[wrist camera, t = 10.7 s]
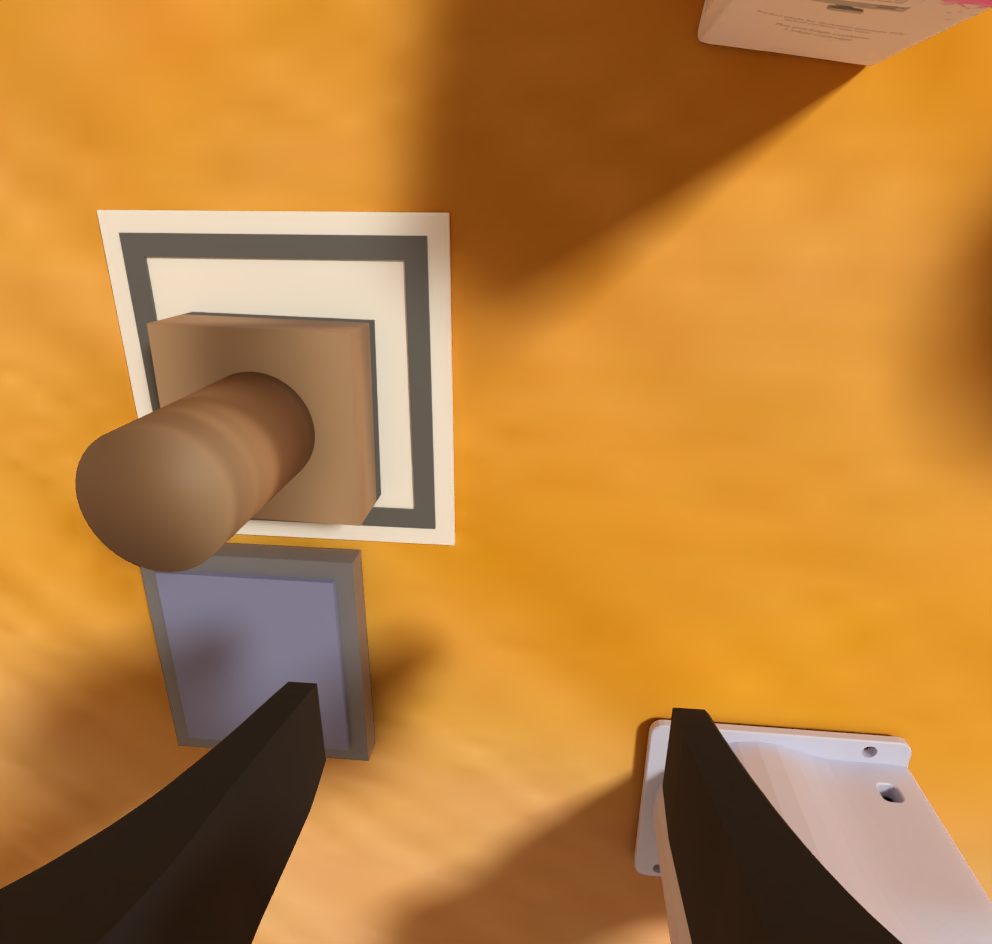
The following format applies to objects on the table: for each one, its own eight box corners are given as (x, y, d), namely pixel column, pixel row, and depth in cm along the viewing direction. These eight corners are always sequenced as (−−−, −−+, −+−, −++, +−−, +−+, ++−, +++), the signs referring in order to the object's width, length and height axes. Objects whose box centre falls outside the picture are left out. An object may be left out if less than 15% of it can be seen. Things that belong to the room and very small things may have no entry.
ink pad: (360, 549, 24) (350, 566, 23) (375, 742, 27) (366, 765, 26) (153, 538, 25) (132, 554, 24) (191, 727, 28) (175, 750, 27)
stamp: (374, 319, 21) (268, 378, 13) (381, 494, 23) (293, 627, 15) (192, 311, 21) (-9, 363, 14) (215, 483, 23) (53, 607, 16)
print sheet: (449, 212, 20) (447, 212, 19) (455, 542, 24) (453, 546, 23) (100, 209, 20) (94, 209, 20) (163, 527, 24) (158, 531, 24)
